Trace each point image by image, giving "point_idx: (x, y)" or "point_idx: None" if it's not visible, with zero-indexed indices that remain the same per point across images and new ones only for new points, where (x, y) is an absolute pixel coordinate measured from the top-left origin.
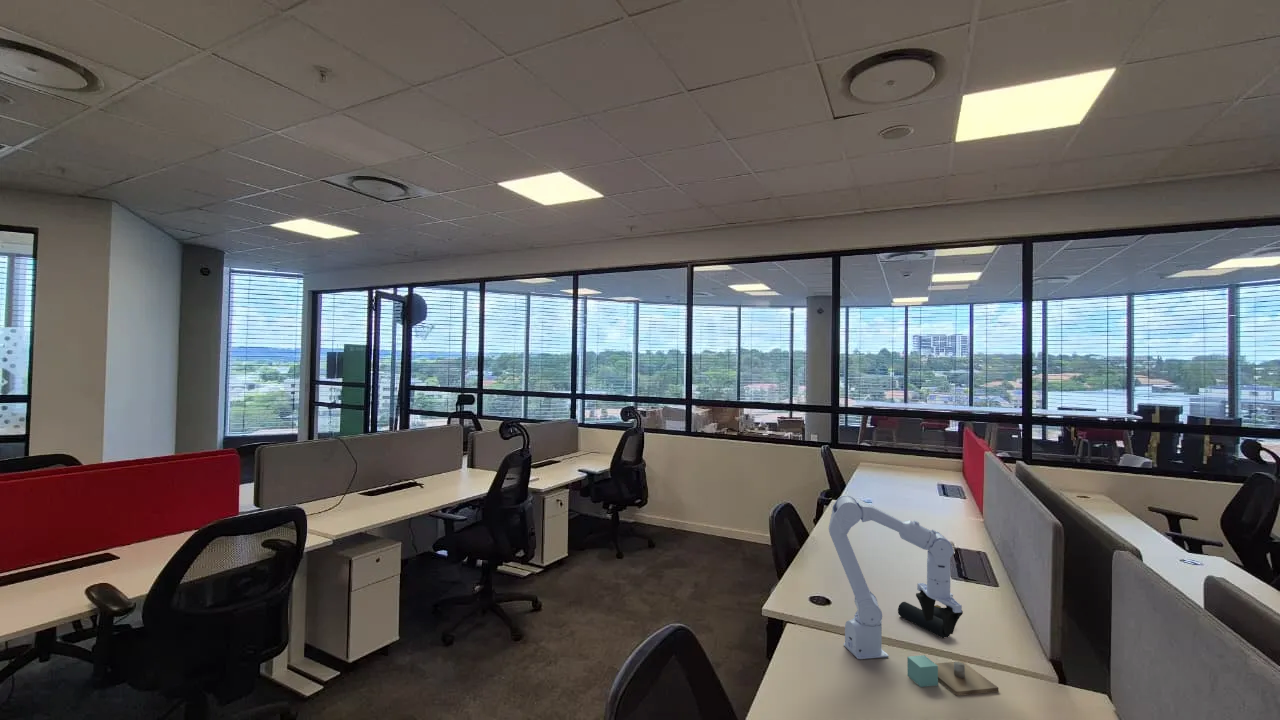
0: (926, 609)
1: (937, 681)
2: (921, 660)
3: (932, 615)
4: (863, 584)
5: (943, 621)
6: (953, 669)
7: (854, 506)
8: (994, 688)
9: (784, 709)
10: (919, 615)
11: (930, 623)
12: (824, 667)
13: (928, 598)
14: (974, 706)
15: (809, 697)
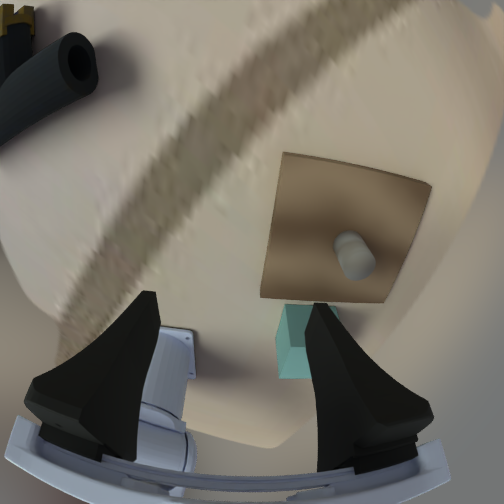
0: (141, 373)
1: (336, 314)
2: (308, 364)
3: (147, 314)
4: None
5: (319, 398)
6: (316, 233)
7: None
8: (426, 199)
9: (281, 443)
10: (2, 132)
11: (40, 113)
12: (211, 410)
13: (118, 432)
14: (417, 287)
15: (272, 432)
